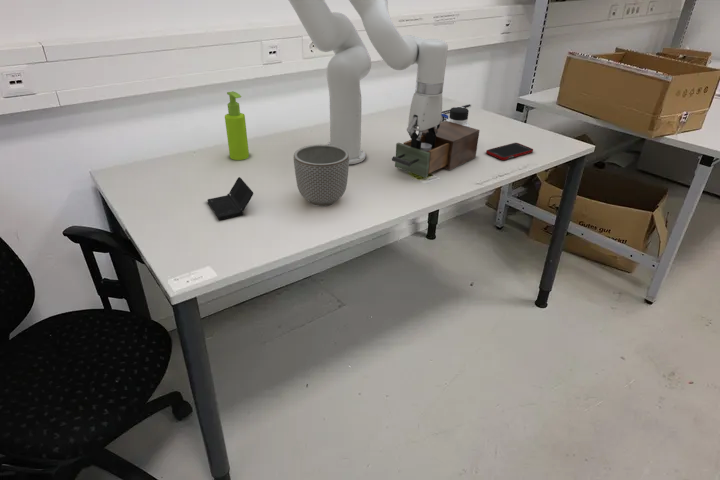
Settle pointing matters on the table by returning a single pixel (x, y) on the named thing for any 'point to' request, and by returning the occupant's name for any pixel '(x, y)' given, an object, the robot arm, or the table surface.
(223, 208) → the handheld gaming console
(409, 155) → the drawer
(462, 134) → the cabinet
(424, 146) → the shaker
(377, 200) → the table surface
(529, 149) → the cell phone
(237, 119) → the soap dispenser
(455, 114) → the medicine bottle
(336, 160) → the planter
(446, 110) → the bar clamp
